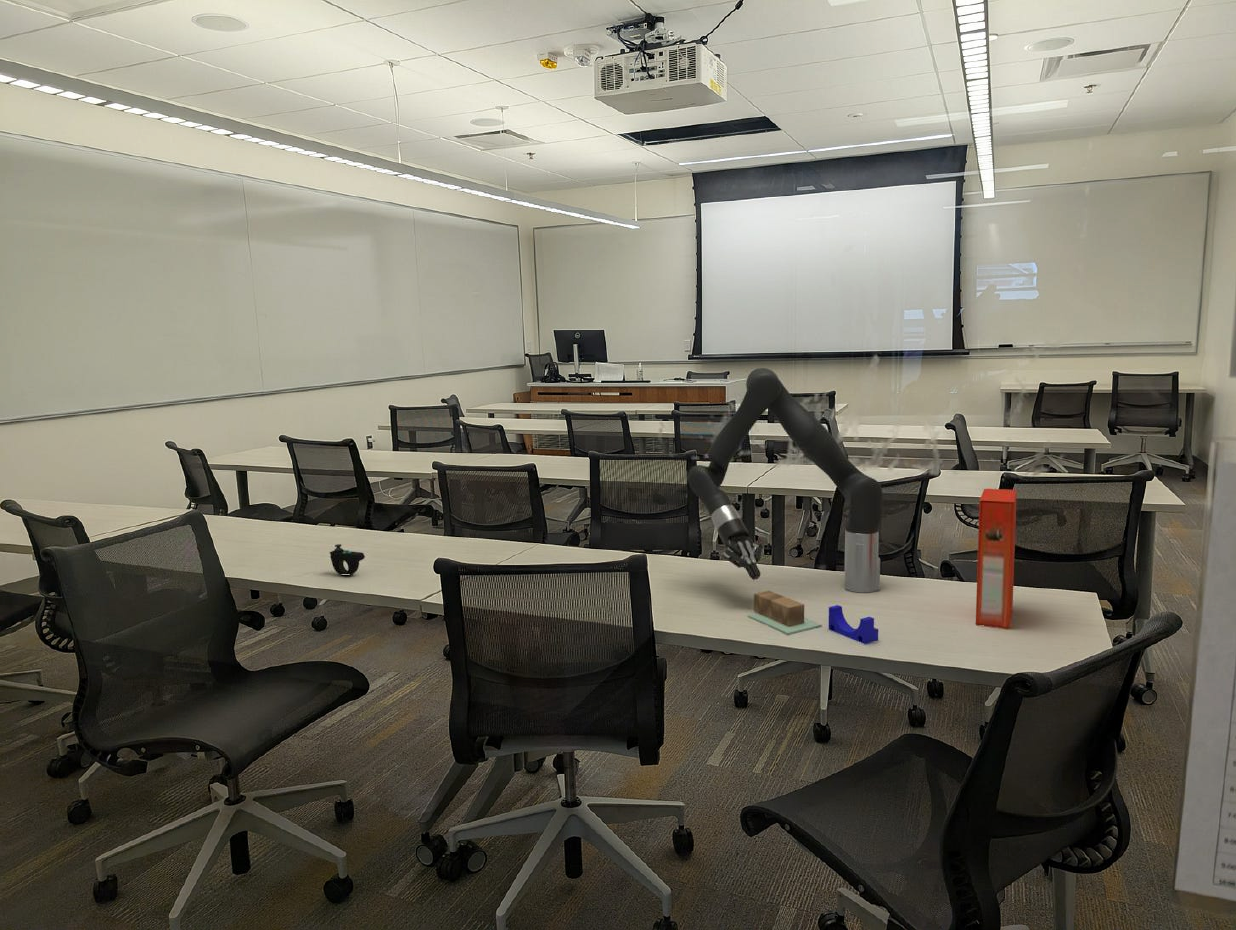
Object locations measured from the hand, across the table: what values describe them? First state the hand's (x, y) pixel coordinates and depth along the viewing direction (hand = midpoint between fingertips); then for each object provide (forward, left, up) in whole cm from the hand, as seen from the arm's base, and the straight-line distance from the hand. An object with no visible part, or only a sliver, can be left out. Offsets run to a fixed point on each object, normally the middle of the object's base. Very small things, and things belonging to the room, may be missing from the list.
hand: (756, 577), depth 216 cm
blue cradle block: (-21, +20, -9) cm, 30 cm away
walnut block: (-1, +1, -6) cm, 6 cm away
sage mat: (-6, +9, -9) cm, 14 cm away
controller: (+126, -42, -9) cm, 133 cm away
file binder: (-60, +8, -9) cm, 61 cm away
